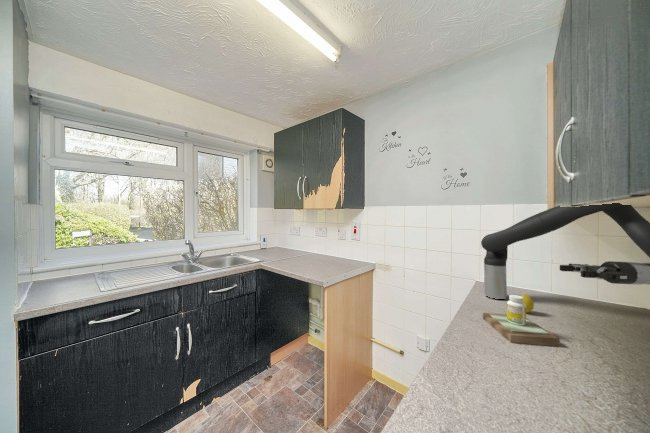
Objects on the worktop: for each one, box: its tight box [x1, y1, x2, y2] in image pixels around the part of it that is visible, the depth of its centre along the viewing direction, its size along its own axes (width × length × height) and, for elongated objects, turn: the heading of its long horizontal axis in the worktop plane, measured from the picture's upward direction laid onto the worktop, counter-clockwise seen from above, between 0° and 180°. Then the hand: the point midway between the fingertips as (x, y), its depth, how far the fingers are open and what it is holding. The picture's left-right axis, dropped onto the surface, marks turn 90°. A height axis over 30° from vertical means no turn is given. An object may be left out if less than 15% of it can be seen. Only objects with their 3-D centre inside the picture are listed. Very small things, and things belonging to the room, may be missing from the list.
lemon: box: [520, 294, 535, 314], centre depth 98 cm, size 6×6×8 cm
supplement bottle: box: [506, 294, 527, 326], centre depth 83 cm, size 5×5×10 cm
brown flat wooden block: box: [482, 312, 560, 347], centre depth 83 cm, size 18×14×3 cm
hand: (570, 270), depth 80 cm, fingers open, 8 cm apart
